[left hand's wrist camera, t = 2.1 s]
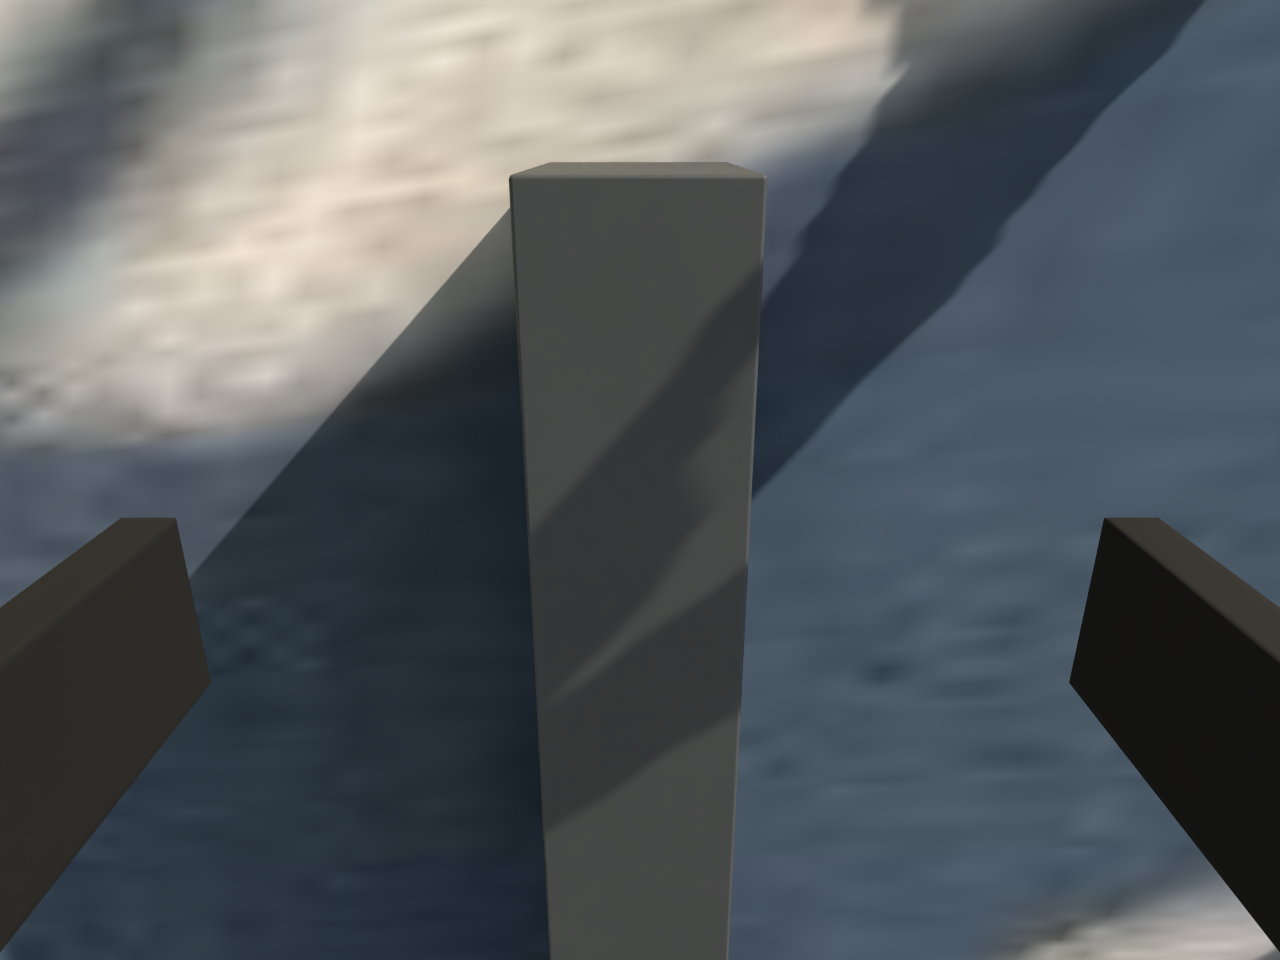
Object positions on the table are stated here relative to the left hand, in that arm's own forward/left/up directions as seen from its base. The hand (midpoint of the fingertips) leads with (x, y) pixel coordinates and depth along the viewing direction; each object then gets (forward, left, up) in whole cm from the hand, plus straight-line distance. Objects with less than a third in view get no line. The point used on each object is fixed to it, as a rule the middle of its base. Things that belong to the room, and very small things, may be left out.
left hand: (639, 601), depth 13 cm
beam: (+2, +22, -14) cm, 27 cm away
